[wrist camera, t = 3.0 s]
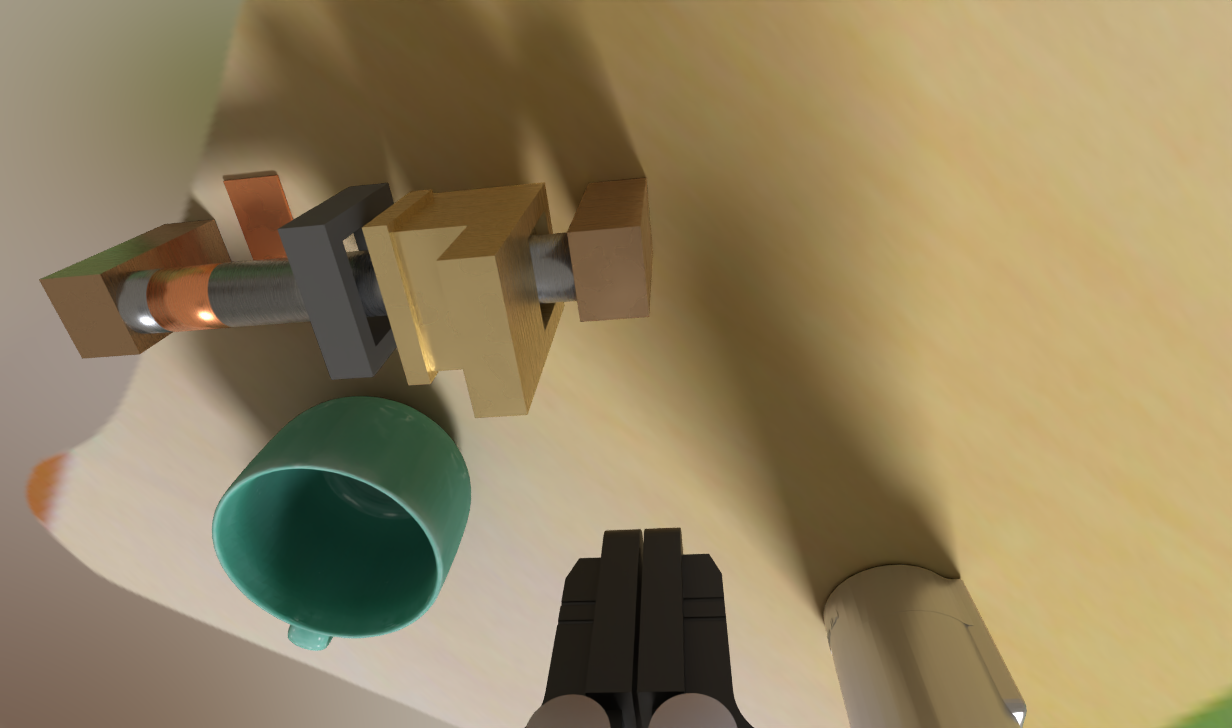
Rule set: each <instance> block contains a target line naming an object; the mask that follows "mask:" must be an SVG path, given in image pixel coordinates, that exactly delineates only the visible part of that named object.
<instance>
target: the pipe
mask: <svg viewBox="0 0 1232 728" xmlns="http://www.w3.org/2000/svg"><path fill="white" fill-rule="evenodd" d="M223 182H224V184H225V187H226V189H227V192H228V195H229V197H230V200H231V202H232V205H233V208H234V210H235V213H236V216H237V218H238V221H239V223H240V226H241V229H242V231H243V234H244V236H245V239H246V242H247V244H248V247H249V249H250V252H251V255H252V257H253V260H252V261H241V262H231V260H230V257H229V255H228V252H227V250H226V247H225V245H224V242H223V240H222V237H221V235H220V232H219V230H218V227H217V225H216V222H215V220H214V219H213V220H203V221H193V222H182V223H172V224H164V225H162V226H160V227H157V228H155V229H153V230H150V231H148V232H146V233H144V234H141V235H139V236H137V237H135V238H132V239H130V240H128V241H125V242H123V243H121V244H119V245H117V246H114V247H112V248H110V249H107V250H105V251H103V252H101V253H98V254H96V255H94V256H91V257H89V258H87V259H85V260H83V261H81V262H78V263H76V264H73V265H71V266H69V267H66V268H64V269H62V270H60V271H57V272H55V273H53V274H51V275H48V276H46V277H44V278H41V279H39V280H40V282H41V284H42V286H43V287H44V289H45V291H46V293H47V295H48V297H49V299H50V300H51V302H52V304H53V306H54V308H55V310H56V311H57V313H58V315H59V317H60V319H61V320H62V322H63V324H64V326H65V328H66V329H67V331H68V333H69V335H70V337H71V339H72V340H73V342H74V344H75V346H76V348H77V350H78V351H79V353H80V355H81V357H82V358H95V357H109V356H122V355H136V354H141V353H142V352H144V351H145V350H147V349H148V348H150V347H151V346H153V345H154V344H156V343H157V342H159V341H160V340H162V339H163V338H165V337H166V336H168V335H169V334H171V333H172V332H179V331H192V330H205V329H218V328H231V327H244V326H256V325H269V324H282V323H295V322H308V321H310V319H309V316H308V313H307V311H306V308H305V305H304V302H303V299H302V297H301V294H300V291H299V288H298V286H297V283H296V280H295V277H294V274H293V272H292V269H291V266H290V263H289V260H288V258H287V255H286V252H285V249H284V247H283V244H282V241H281V238H280V235H279V233H278V230H277V229H278V228H280V227H282V226H283V225H285V224H287V223H289V222H290V221H292V220H293V218H292V215H291V212H290V209H289V206H288V203H287V200H286V197H285V195H284V192H283V189H282V186H281V183H280V180H279V177H278V175H273V176H264V177H254V178H245V179H235V180H225V181H223ZM528 241H529V247H530V253H531V258H532V264H533V270H534V275H535V281H536V286H537V292H538V298H539V303H540V304H542V303H555V302H568V301H577V303H578V310H579V316H580V322H585V321H599V320H612V319H626V318H639V317H649V310H650V293H651V276H652V258H653V248H652V236H651V225H650V214H649V203H648V191H647V180H646V178H636V179H626V180H616V181H605V182H595V183H588V186H587V188H586V190H585V193H584V195H583V197H582V199H581V202H580V204H579V206H578V209H577V211H576V213H575V216H574V218H573V220H572V222H571V225H570V227H569V229H568V232H567V233H556V234H544V235H533V236H529V237H528ZM346 254H347V257H348V260H349V263H350V267H351V270H352V273H353V276H354V279H355V283H356V286H357V289H358V292H359V295H360V298H361V302H362V305H363V308H364V311H365V314H366V317H373V316H386V315H387V311H386V308H385V305H384V301H383V298H382V294H381V291H380V288H379V284H378V281H377V278H376V274H375V271H374V267H373V264H372V261H371V257H370V254H369V251H368V250H364V251H353V252H346Z"/></svg>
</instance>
